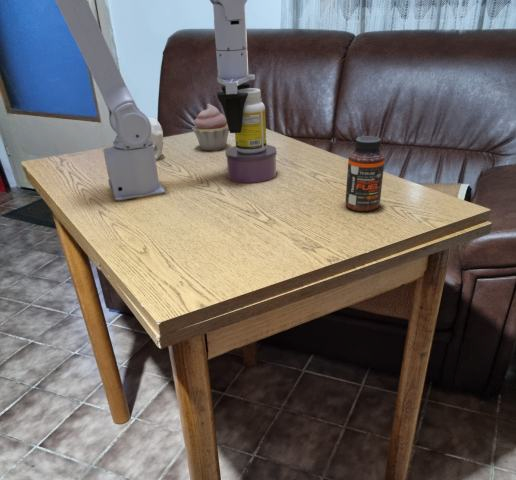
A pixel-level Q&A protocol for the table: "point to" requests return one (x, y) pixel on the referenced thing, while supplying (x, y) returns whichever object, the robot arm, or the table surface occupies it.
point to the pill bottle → (252, 124)
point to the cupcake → (211, 129)
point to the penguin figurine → (156, 137)
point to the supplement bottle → (365, 174)
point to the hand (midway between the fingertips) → (236, 128)
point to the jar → (251, 165)
